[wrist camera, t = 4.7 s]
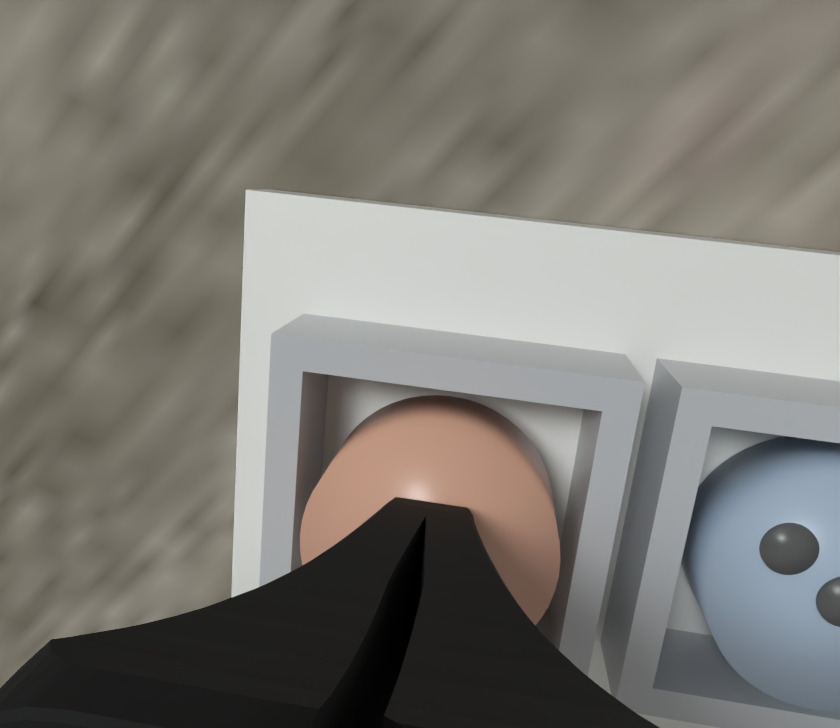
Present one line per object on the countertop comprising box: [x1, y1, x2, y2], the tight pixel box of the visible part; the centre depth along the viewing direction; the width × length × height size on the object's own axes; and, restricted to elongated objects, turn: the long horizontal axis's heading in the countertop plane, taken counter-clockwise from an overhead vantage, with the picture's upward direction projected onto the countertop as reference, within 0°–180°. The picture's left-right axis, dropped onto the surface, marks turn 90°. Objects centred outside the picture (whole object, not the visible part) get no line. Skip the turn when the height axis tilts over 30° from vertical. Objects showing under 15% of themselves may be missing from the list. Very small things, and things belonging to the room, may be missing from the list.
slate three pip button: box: [681, 436, 840, 711], centre depth 12 cm, size 4×4×2 cm
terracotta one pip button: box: [300, 395, 561, 625], centre depth 12 cm, size 4×4×2 cm
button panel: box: [231, 190, 840, 728], centre depth 14 cm, size 11×23×4 cm, turn 84°
